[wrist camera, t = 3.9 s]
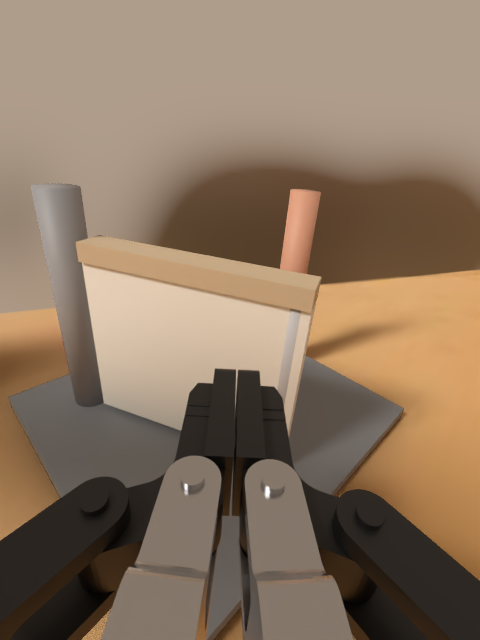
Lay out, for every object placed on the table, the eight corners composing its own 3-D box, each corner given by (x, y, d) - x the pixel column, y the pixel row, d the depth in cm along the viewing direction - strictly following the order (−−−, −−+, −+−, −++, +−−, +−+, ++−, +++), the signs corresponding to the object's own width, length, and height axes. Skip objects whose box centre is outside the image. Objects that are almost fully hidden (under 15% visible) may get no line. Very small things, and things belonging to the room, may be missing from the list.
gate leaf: (101, 405, 26) (75, 242, 20) (118, 390, 27) (99, 235, 21) (280, 469, 22) (315, 290, 16) (287, 446, 23) (321, 277, 17)
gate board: (166, 696, 14) (135, 345, 6) (11, 406, 27) (-65, 179, 19) (400, 417, 29) (481, 217, 21) (228, 320, 42) (238, 176, 34)
